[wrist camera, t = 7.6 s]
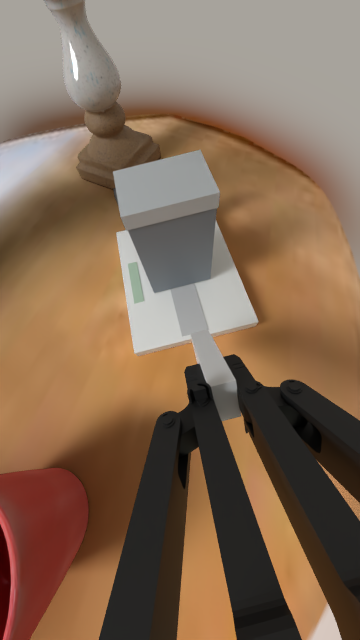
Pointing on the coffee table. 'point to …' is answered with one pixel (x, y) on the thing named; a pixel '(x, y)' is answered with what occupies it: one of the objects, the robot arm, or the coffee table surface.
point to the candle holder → (97, 99)
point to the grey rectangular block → (170, 217)
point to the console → (183, 301)
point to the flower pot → (36, 543)
